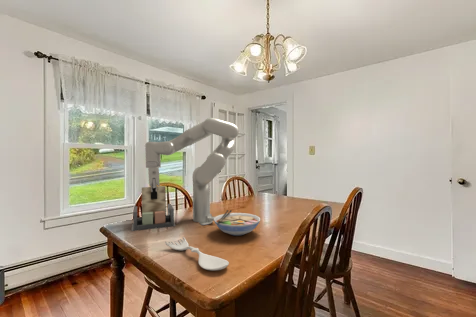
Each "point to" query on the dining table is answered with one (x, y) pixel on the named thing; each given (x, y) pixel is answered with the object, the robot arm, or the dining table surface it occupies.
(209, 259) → the white spork utensil
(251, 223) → the ramen bowl
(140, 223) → the offcut rack
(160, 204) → the birch sheet
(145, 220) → the sage offcut
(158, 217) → the terracotta offcut
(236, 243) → the dining table surface
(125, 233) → the dining table surface
